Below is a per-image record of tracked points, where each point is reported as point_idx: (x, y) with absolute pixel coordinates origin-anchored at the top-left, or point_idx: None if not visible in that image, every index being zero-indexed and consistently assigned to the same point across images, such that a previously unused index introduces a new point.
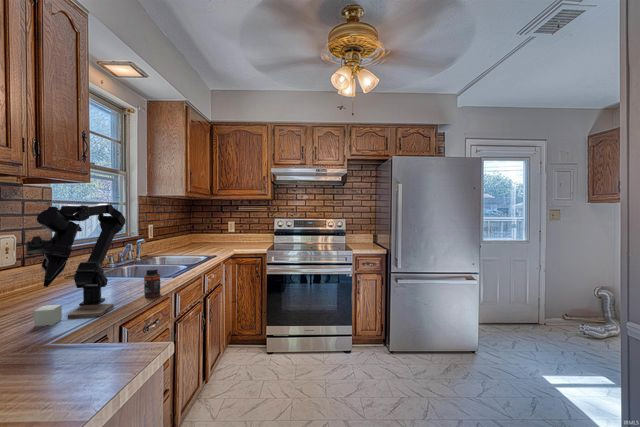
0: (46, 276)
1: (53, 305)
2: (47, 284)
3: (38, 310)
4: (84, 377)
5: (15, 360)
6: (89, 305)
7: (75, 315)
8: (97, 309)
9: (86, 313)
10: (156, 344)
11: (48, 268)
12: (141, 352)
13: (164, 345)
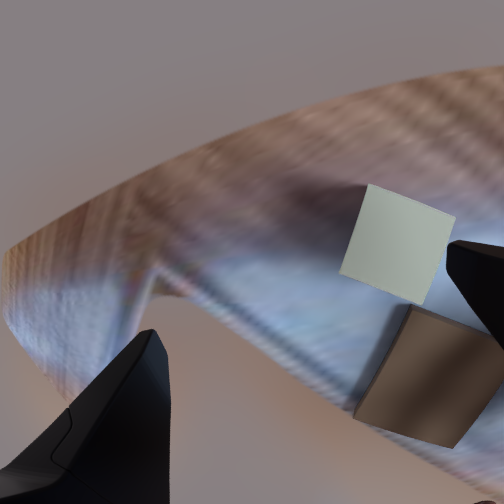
0: (129, 347)
1: (433, 266)
2: (459, 276)
3: (366, 204)
4: (40, 325)
5: (96, 214)
6: (499, 376)
7: (397, 336)
8: (415, 408)
9: (384, 376)
10: None
11: (78, 411)
12: None
13: None
